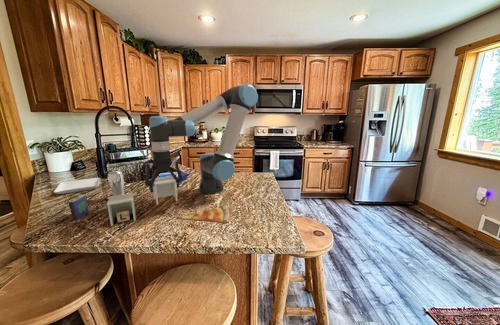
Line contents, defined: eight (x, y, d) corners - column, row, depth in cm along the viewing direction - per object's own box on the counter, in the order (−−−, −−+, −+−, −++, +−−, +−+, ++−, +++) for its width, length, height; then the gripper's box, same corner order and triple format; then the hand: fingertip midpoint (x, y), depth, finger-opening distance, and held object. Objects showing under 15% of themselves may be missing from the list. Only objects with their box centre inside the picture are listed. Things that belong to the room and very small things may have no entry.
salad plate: (99, 189, 129) (98, 184, 128) (54, 197, 117) (52, 191, 116) (100, 181, 146) (99, 176, 145) (61, 187, 134) (60, 182, 133)
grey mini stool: (155, 197, 99) (152, 178, 97) (174, 194, 104) (172, 176, 101) (156, 204, 92) (154, 183, 90) (177, 200, 96) (175, 180, 94)
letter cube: (118, 218, 91) (117, 209, 90) (130, 215, 93) (128, 207, 92) (117, 222, 87) (116, 213, 86) (129, 220, 90) (128, 210, 89)
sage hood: (113, 217, 92) (109, 196, 90) (135, 212, 96) (132, 193, 94) (111, 226, 84) (107, 204, 82) (135, 220, 89) (132, 199, 87)
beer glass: (119, 201, 110) (114, 174, 107) (108, 200, 111) (103, 174, 108) (129, 196, 117) (125, 171, 113) (118, 195, 118) (114, 170, 115)
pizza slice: (195, 205, 105) (195, 201, 105) (236, 208, 101) (236, 204, 101) (180, 220, 90) (179, 215, 90) (228, 224, 86) (227, 219, 86)
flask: (84, 211, 98) (80, 190, 96) (91, 211, 98) (87, 190, 96) (70, 221, 89) (65, 198, 87) (78, 220, 89) (73, 198, 87)
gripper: (134, 153, 84) (140, 203, 89) (187, 149, 94) (190, 194, 99) (134, 151, 90) (140, 198, 95) (183, 147, 101) (187, 190, 106)
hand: (165, 196), depth 97 cm, fingers closed on grey mini stool, 9 cm apart
